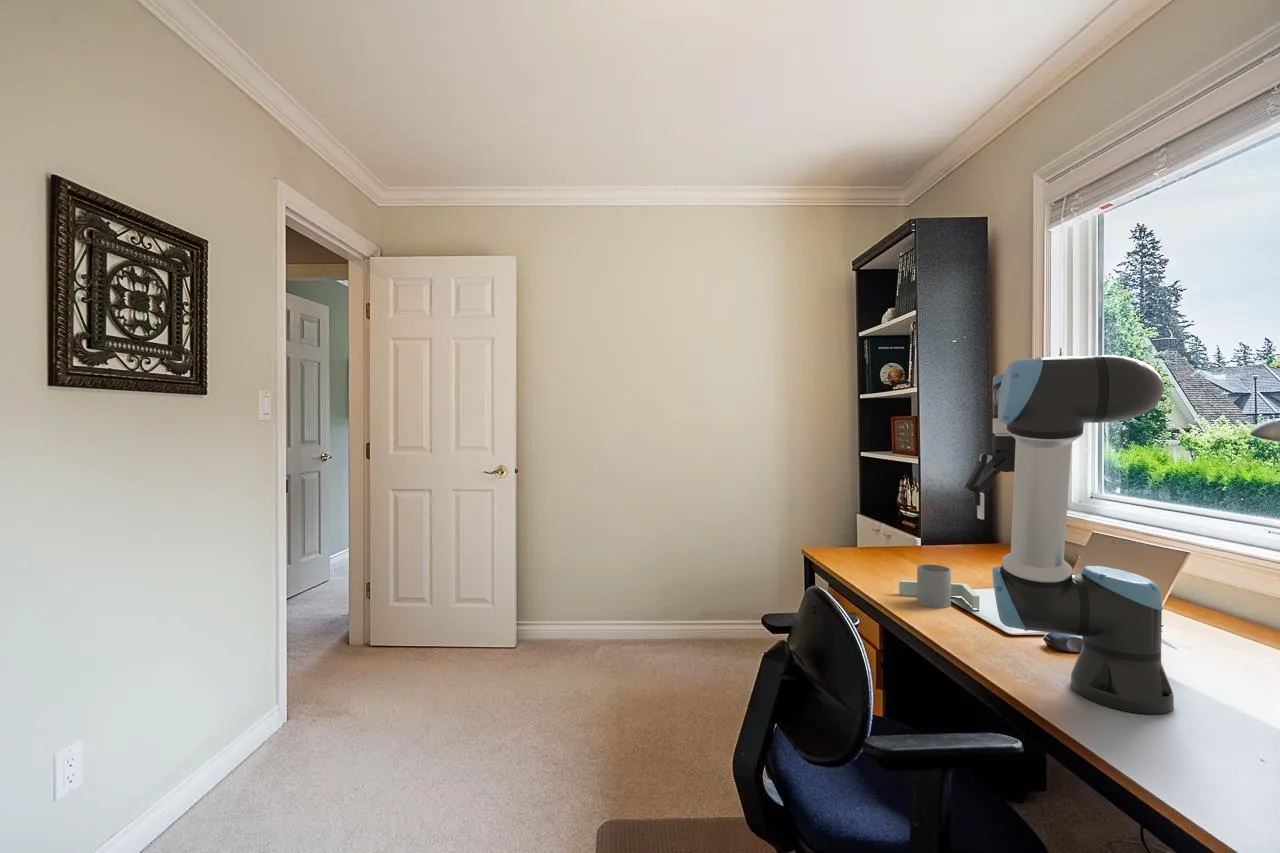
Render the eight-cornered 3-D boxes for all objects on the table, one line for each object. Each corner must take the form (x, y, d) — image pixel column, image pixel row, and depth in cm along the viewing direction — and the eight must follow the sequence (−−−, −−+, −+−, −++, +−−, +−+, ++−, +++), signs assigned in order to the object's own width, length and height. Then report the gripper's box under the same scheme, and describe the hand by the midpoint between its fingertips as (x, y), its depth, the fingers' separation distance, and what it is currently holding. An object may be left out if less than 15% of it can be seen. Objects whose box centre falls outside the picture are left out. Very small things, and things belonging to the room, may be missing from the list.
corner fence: (979, 611, 163) (979, 596, 162) (907, 606, 167) (907, 592, 167) (965, 597, 175) (965, 583, 174) (899, 593, 179) (898, 580, 179)
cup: (916, 605, 168) (916, 569, 167) (918, 597, 175) (918, 563, 175) (950, 610, 164) (950, 573, 164) (950, 601, 171) (950, 566, 171)
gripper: (1057, 435, 154) (1057, 518, 154) (951, 435, 159) (951, 515, 159) (1072, 435, 147) (1072, 523, 147) (961, 435, 152) (961, 520, 151)
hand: (1010, 519), depth 153 cm, fingers open, 13 cm apart
